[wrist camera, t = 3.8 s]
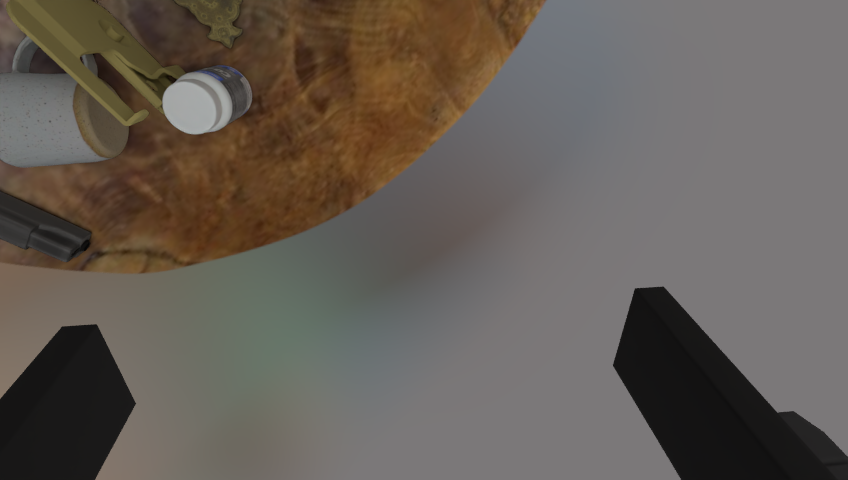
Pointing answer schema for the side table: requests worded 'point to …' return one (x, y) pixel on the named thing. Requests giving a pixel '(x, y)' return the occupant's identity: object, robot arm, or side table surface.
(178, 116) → the pill bottle
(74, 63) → the bracket
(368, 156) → the side table surface
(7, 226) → the handgun
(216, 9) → the ornament
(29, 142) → the ceramic mug
